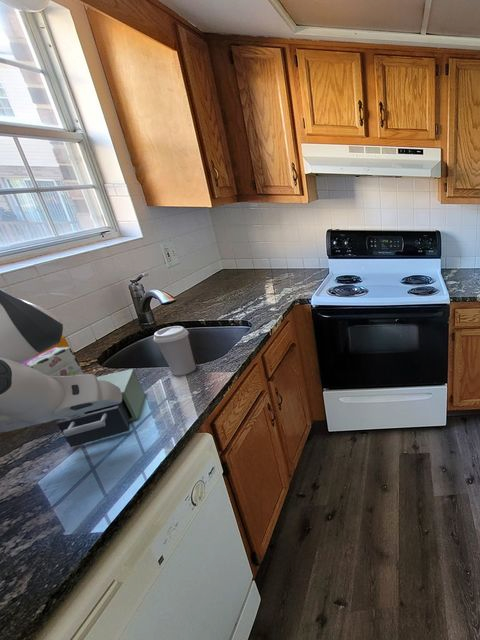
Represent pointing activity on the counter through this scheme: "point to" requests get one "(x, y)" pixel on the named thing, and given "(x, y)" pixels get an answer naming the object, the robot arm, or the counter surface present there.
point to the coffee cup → (176, 349)
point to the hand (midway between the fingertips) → (76, 414)
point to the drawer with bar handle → (96, 424)
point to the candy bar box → (56, 362)
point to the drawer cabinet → (128, 390)
